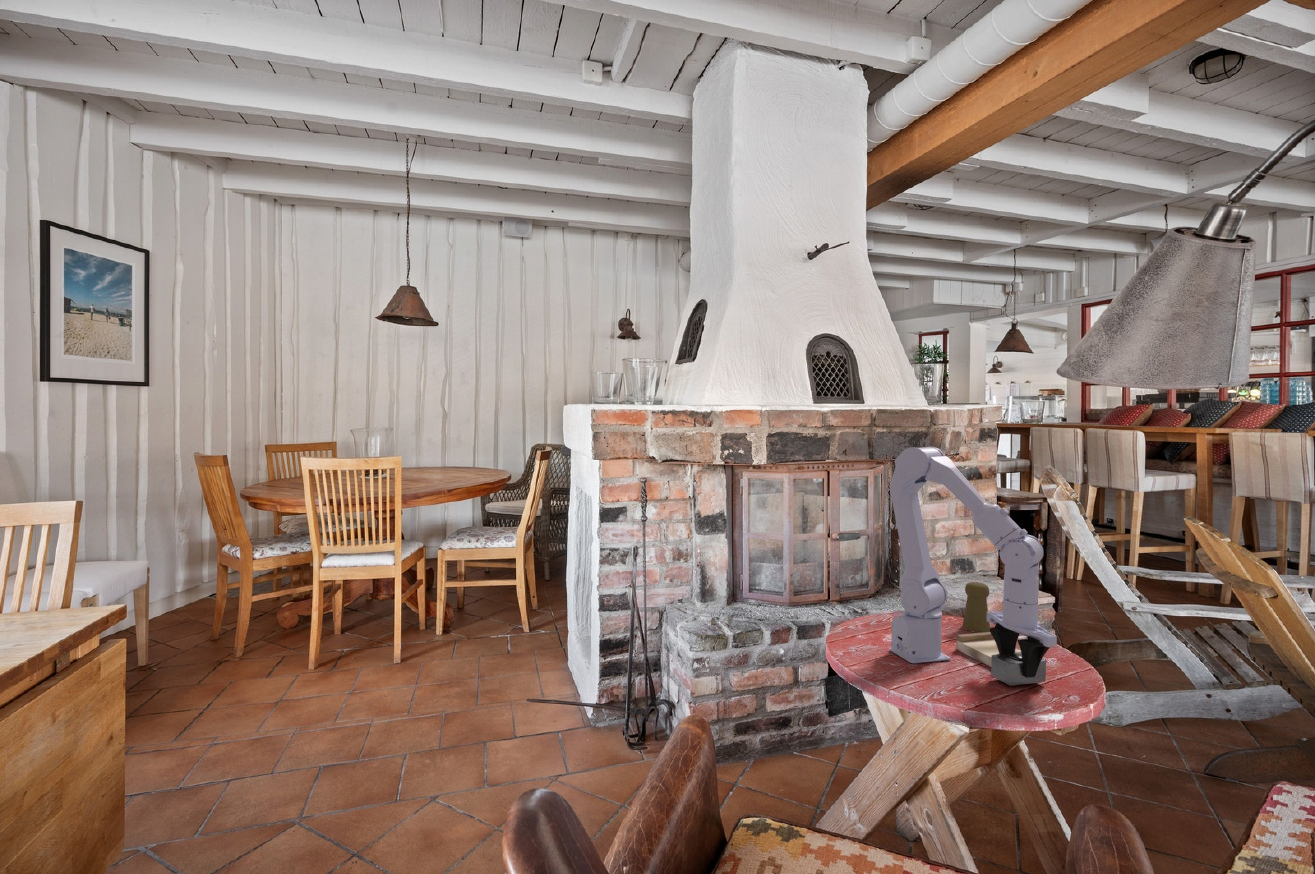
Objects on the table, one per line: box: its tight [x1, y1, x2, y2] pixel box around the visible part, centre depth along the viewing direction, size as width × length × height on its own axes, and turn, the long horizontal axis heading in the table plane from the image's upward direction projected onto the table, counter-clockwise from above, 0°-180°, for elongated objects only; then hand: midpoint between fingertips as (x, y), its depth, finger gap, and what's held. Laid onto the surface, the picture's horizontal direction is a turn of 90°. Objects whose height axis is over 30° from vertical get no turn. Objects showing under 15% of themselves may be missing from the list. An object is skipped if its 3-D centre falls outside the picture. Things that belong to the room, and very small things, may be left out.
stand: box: [956, 632, 1021, 668], centre depth 130 cm, size 12×9×3 cm
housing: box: [990, 652, 1047, 686], centre depth 118 cm, size 8×5×4 cm, turn 104°
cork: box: [961, 581, 991, 633], centre depth 148 cm, size 6×6×11 cm
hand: (1018, 670), depth 118 cm, fingers closed on housing, 5 cm apart
